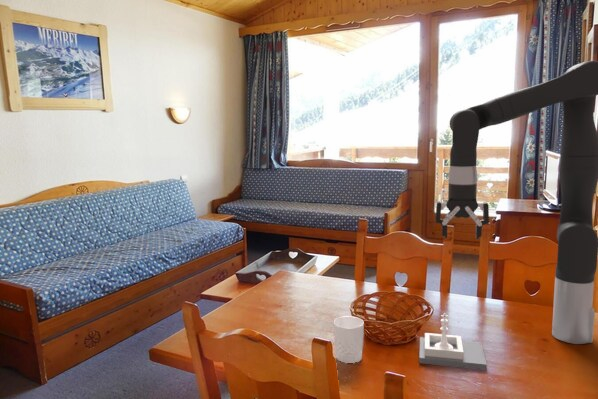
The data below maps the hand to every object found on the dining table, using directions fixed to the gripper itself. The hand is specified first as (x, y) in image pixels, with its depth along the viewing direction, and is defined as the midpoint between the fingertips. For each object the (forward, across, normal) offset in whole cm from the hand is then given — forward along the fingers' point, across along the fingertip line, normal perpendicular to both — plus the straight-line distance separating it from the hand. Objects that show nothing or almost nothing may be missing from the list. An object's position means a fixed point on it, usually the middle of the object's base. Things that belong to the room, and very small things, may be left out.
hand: (461, 238), depth 130 cm
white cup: (+28, +29, +23) cm, 47 cm away
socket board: (+28, +3, +16) cm, 32 cm away
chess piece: (+27, +5, +16) cm, 32 cm away
